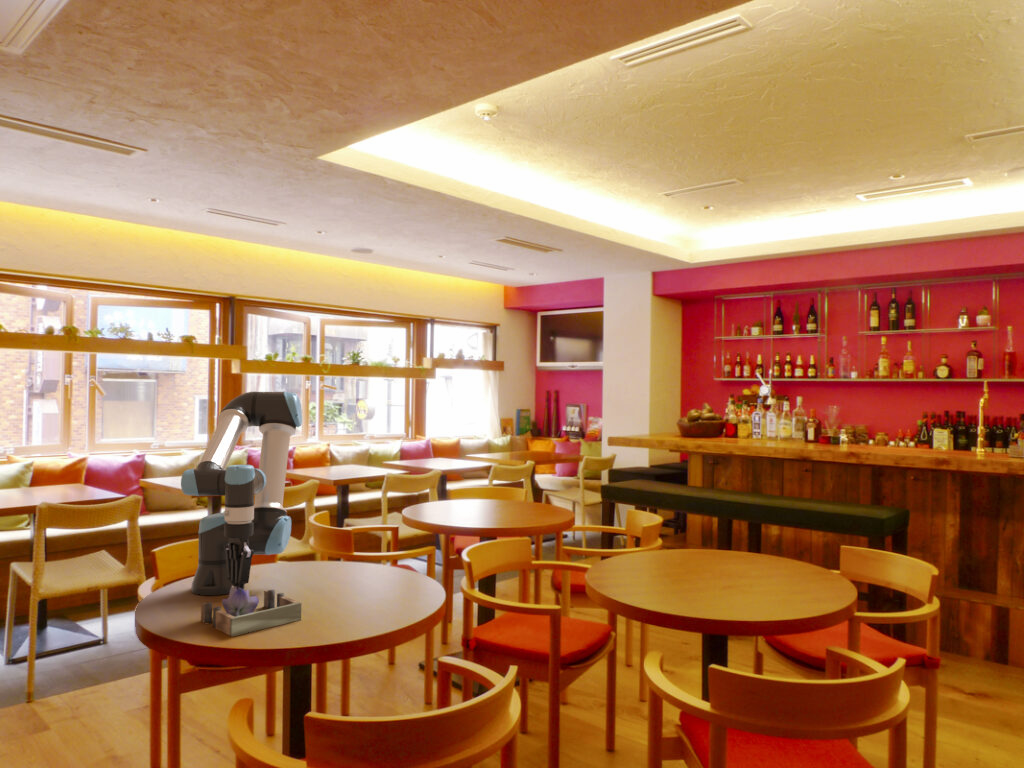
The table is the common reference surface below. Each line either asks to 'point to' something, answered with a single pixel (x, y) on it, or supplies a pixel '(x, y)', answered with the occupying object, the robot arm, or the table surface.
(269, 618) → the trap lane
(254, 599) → the flower
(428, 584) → the table surface
